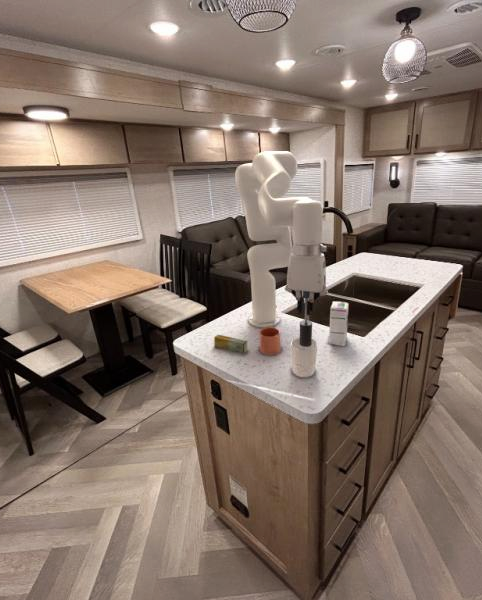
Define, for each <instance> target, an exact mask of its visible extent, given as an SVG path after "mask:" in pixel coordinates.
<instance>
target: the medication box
mask: <svg viewBox="0 0 482 600" xmlns="http://www.w3.org/2000/svg"><path fill="white" fill-rule="evenodd" d="M213 339H214V343H213V345H214V348H218V349H222V350H224V351H225V350H226V351H229V352H234V353H237V354H238V353H239V354H246V353H247V352H248V340H245V339H240V338H236V337H231V336H226V335H223V334H216V335H215V336H214V338H213Z"/></svg>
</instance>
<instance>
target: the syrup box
mask: <svg viewBox="0 0 482 600" xmlns="http://www.w3.org/2000/svg"><path fill="white" fill-rule="evenodd" d="M349 305H350V304H349V302H346V301H332V303H331V305H330V308H329V310H330V311H329V336H328V344H332V345H333V346H340V347H345V346H346V342H347V336H348V324H349V323H348V322H349Z"/></svg>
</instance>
